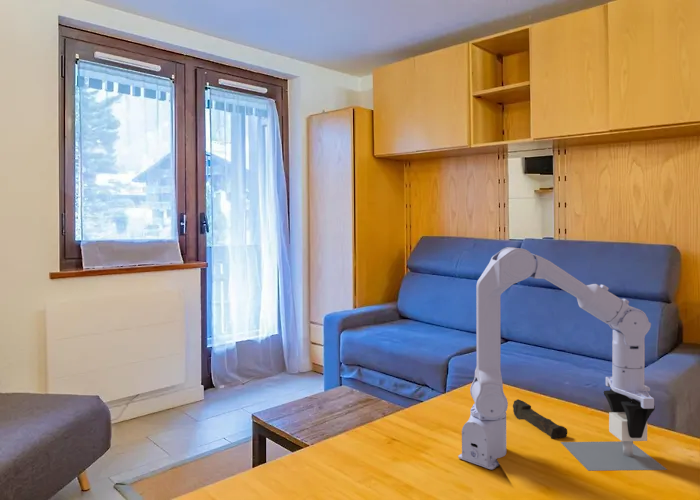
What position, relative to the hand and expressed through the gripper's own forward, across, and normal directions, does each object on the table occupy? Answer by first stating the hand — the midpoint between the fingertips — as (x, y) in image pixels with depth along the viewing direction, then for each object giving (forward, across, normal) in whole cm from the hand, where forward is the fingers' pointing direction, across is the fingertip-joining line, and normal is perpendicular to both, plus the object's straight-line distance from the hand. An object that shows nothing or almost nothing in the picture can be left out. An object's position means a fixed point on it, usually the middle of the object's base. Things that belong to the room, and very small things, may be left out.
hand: (628, 431), depth 103 cm
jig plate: (+6, 0, +4) cm, 7 cm away
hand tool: (+6, +18, +13) cm, 23 cm away
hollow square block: (+1, 0, 0) cm, 1 cm away
